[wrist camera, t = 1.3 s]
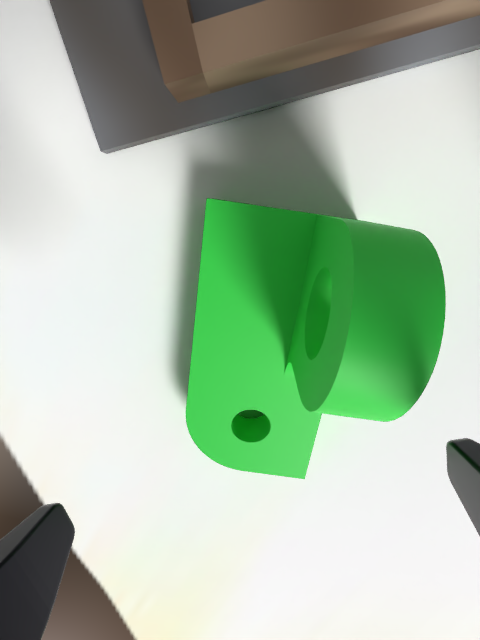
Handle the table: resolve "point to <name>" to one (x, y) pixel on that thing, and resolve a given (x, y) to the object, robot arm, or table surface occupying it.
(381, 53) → the seat
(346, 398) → the mechanical part
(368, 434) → the table surface
